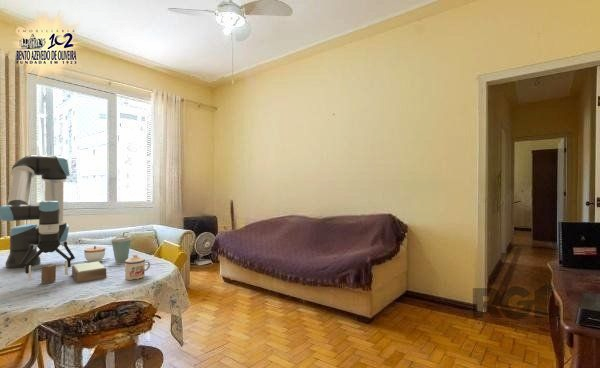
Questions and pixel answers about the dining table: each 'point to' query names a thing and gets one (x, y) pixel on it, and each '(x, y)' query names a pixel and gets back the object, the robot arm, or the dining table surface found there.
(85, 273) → the walnut stand
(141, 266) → the teacup with lid
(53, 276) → the wooden block
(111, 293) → the dining table surface
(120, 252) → the disposable coffee cup
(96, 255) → the lidded jar
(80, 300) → the dining table surface
